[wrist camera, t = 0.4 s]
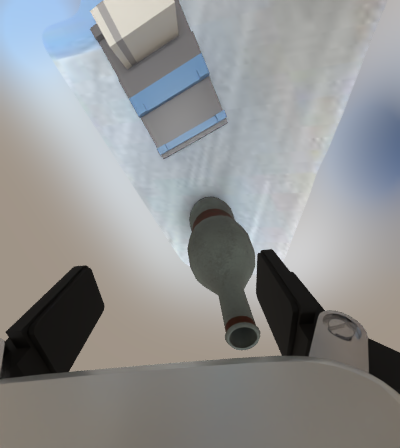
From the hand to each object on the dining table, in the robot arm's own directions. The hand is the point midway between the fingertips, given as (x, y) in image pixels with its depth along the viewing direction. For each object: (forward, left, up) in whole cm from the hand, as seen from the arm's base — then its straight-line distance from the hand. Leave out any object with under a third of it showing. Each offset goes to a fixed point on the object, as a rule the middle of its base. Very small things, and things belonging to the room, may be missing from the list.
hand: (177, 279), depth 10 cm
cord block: (-5, -24, -30) cm, 39 cm away
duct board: (-5, -18, -31) cm, 36 cm away
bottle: (-1, +8, -31) cm, 32 cm away
